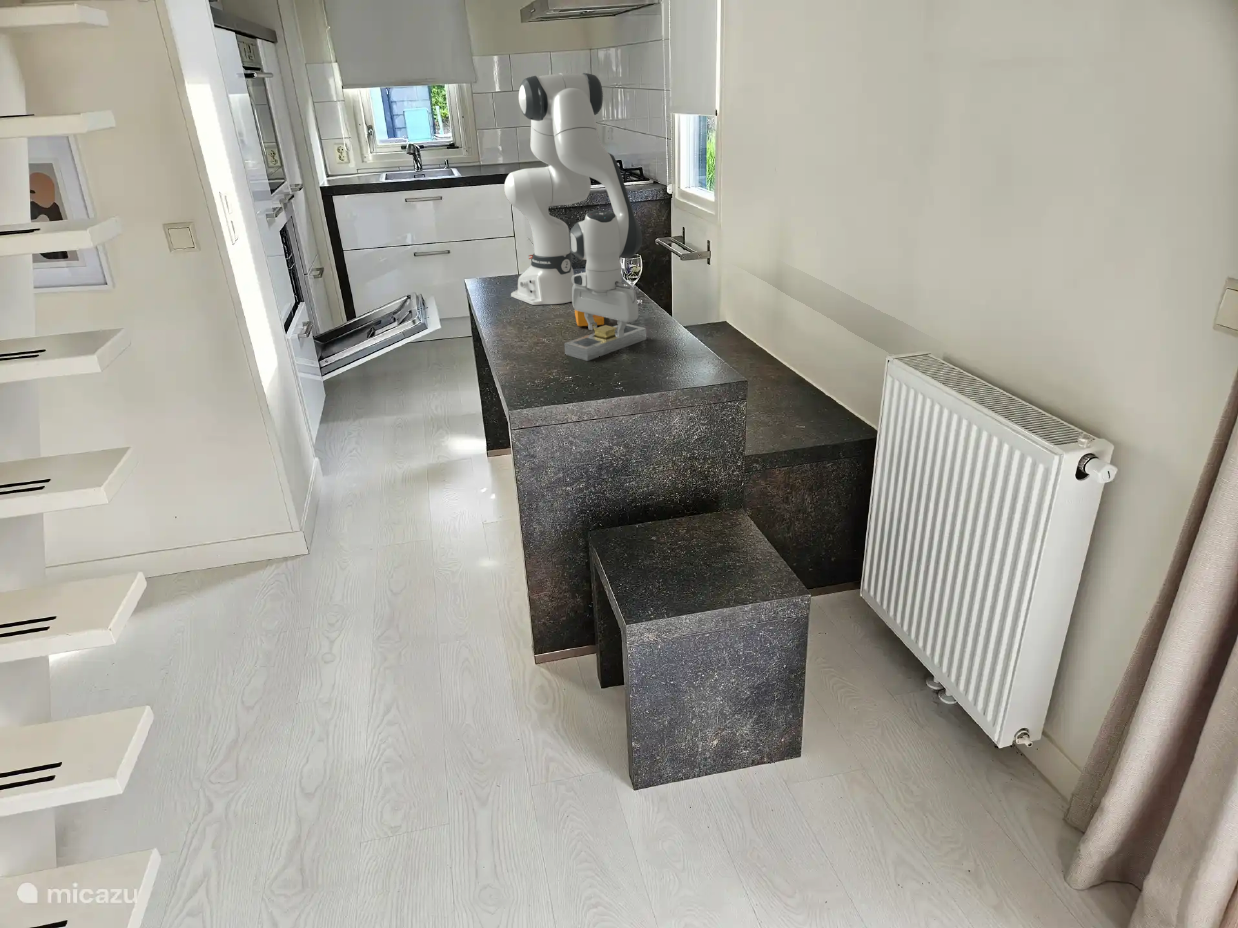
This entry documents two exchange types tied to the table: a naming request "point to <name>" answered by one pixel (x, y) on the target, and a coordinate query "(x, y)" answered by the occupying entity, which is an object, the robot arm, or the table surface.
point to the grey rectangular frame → (603, 343)
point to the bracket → (583, 322)
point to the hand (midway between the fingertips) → (605, 333)
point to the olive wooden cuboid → (605, 332)
